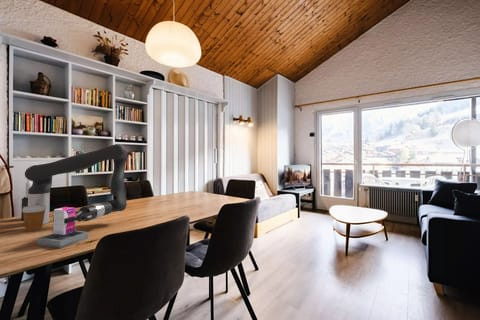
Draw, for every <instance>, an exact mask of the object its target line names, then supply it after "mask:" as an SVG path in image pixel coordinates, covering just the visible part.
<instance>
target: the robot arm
mask: <svg viewBox="0 0 480 320" xmlns="http://www.w3.org/2000/svg"><path fill="white" fill-rule="evenodd" d="M127 159H128V151H127V149H126V148H125V147H124V146H122V145H120V144H111V145H108V146H106V147H103V148H100V149H97V150H93V151H88V152H84V153H80V154H74V155H70V156H68V157H65V158H61V159H58V160H55V161H53V162H47V163H42V164H35V165H31V166H29V167H27V168H26V170H25V171H24V177H25V178H26V179H27V181H28V180H30V181H31V182H32V186H31V187H30V188H29V190H28V206H33V205H45V207H46V210H45V214H44V220H43V225H45V224H48V223H49V222H50V207H51V206H50V202H51V201H50V199H51V196H50V195H51V188H52V185H53V176H56V175H62V174H69V173H70V174H71V173H76V172H80V171H83V170H87V169H89V168H92V167H93V166H96V165H97V164H100V163H102V162H105V161H110V160H111V161H112V162H113V172H112V175H111V179H110V191H109V192H110V195H112V196H115V198H116V199H110V200H107V201H103V202H99V203H98V202H97V203H92V204H89V205H84V206H81V207H80V208H79V210H76V211H75V216H74V217H69V218H65V219H64V223H70V222H73V221H74V222H75V223H76V222H79V223H80V222H90V221H92V220H96V219H98V218H101V217H103V216H106V215H109V214H111V213H114V212H122V211H123V212H124V211H125V210H126V209H127V206H128V202H127V198H126V195H125V168H126V163H127ZM52 222H53V223H54V217H52Z"/></svg>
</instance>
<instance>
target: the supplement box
mask: <svg viewBox="0 0 480 320" xmlns="http://www.w3.org/2000/svg"><path fill="white" fill-rule="evenodd" d="M75 211H77V209H76V207H69V206H63V207H59V208H55V209H53V218H54V222H53V232H52V234H53V235H59V236H64V235H67V234H70V233H73V232H75V230H76V222H74V221H73V222H70V223H64V219H65V218H69V217H74V216H75Z"/></svg>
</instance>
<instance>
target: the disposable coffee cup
mask: <svg viewBox="0 0 480 320" xmlns="http://www.w3.org/2000/svg"><path fill="white" fill-rule="evenodd" d="M45 210H46V207H45V205H33V206H26V207H23V210H22V209H21V212H23V216H24V220H23V222H24V229H25V232H28V233H29V232H31V233H32V232H37V231H40V230H42V229H43V225H44V224H43V220H44V214H45Z"/></svg>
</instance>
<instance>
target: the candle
mask: <svg viewBox="0 0 480 320" xmlns="http://www.w3.org/2000/svg"><path fill="white" fill-rule="evenodd" d="M32 184H33V181H30V180H28V179H27V182H25V196H24V197H23V198H21V211H20V212H21V218H20V219H21V221H24V216H23V212H22V210H23V207H26V206H28V190H29V188H30V187H31V186H32Z"/></svg>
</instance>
